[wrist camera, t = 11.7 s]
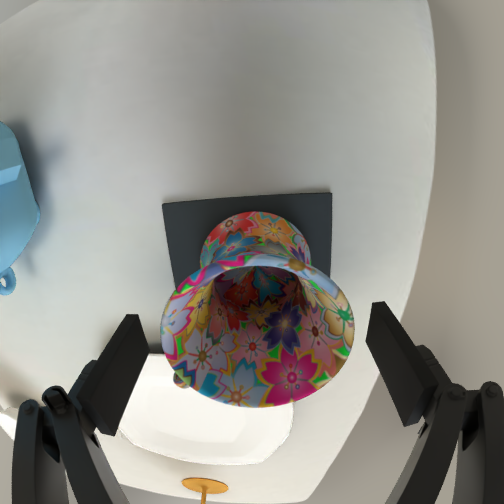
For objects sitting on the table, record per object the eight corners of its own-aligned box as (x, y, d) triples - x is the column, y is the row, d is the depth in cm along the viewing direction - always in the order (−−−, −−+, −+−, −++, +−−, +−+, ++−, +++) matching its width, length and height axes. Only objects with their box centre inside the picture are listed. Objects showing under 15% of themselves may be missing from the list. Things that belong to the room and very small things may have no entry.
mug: (256, 177, 20) (261, 207, 10) (335, 261, 23) (387, 342, 13) (155, 281, 23) (103, 364, 13) (233, 345, 26) (226, 440, 16)
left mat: (330, 192, 21) (332, 193, 21) (325, 323, 25) (326, 326, 25) (163, 203, 21) (161, 204, 21) (186, 331, 26) (185, 333, 25)
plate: (314, 356, 27) (317, 369, 25) (271, 459, 35) (272, 469, 33) (92, 323, 26) (83, 334, 24) (124, 437, 34) (121, 446, 32)
